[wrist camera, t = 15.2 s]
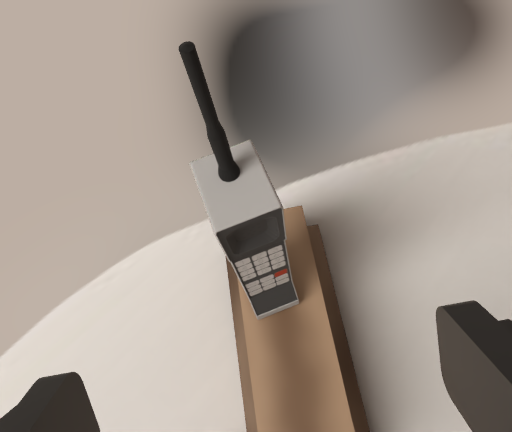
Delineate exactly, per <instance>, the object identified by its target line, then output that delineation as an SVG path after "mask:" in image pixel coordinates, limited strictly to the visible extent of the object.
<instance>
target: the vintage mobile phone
mask: <svg viewBox="0 0 512 432" xmlns="http://www.w3.org/2000/svg"><path fill="white" fill-rule="evenodd" d="M179 52H180V54H181V57H182V60H183V62H184V65H185V68H186V71H187V74H188V76H189V79H190V82H191V85H192V87H193V90H194V93H195V96H196V99H197V101H198V104H199V107H200V109H201V112H202V115H203V118H204V120H205V123H206V128H207V135H208V139H209V142H210V144H211V147H212V150H213V154H211V155H208V156H205V157H203V158H200V159H197V160H195V161H192V162H190V167H191V170H192V172H193V175H194V178H195V181H196V184H197V187H198V189H199V192H200V195H201V198H202V201H203V204H204V206H205V209H206V212H207V215H208V218H209V221H210V223H211V226H212V229H213V232H214V235H215V237H216V238H217V240H218V242H219V244H220V246H221V248H222V249H223V251H224V253H225V255H226V257H227V259H228V261H229V262H230V263H231V265H232V267H233V269H234V271H235V273H236V275H237V277H238V279H239V281H240V283H241V285H242V287H243V289H244V291H245V293H246V295H247V297H248V299H249V301H250V303H251V306H252V308H253V310H254V313H255V315H256V317H257V319H258V320H260V319H262V318H265V317H267V316H270V315H272V314H275V313H277V312H279V311H282V310H284V309H287V308H289V307H292V306H294V305H297V304H299V299H298V296H297V293H296V290H295V287H294V284H293V280H292V275H291V269H290V264H289V259H288V253H287V248H286V242H285V240H287V237H286V228H285V220H284V211H283V206H282V204H281V202H280V200H279V198H278V196H277V194H276V191H275V189H274V187H273V185H272V183H271V181H270V179H269V177H268V174H267V172H266V170H265V168H264V166H263V164H262V162H261V159H260V158H259V155H258V153H257V151H256V149H255V147H254V145H253V142H252V140H247V141H245V142H242V143H240V144H237V145H234V146H232V147H229V144H228V140H227V137H226V134H225V131H224V129H223V127H222V126H221V124H220V122H219V121H218V117H217V114H216V111H215V108H214V105H213V101H212V98H211V95H210V92H209V89H208V86H207V83H206V79H205V77H204V73H203V70H202V67H201V64H200V61H199V58H198V55H197V51H196V48H195V45H194V44H193V43H192V42H184V43H182V44H181V45H180V46H179Z"/></svg>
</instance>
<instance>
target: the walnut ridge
mask: <svg viewBox="0 0 512 432" xmlns="http://www.w3.org/2000/svg"><path fill="white" fill-rule="evenodd" d="M283 211H284V220H285V228H286V237H287V240H285V242H286V248H287V253H288V259H289V264H290V269H291V275H292V280H293V284H294V287H295V290H296V293H297V296H298V299H299V304H297V305H294V306H292V307H289V308H287V309H284V310H282V311H279V312H277V313H275V314H272V315H270V316H267V317H265V318H262V319H260V320H258V319H257V317H256V315H255V313H254V310H253V308H252V306H251V303H250V301H249V299H248V297H247V295H246V293H245V291H244V289H243V287H242V285H241V283H240V281H239V279H238V277H237V275H236V273H235V271H234V269H233V267H232V265H231V263H230V262H229V261H228V259H227V257H226V262H227V271H228V279H229V287H230V296H231V304H232V312H233V321H234V329H235V337H236V346H237V354H238V362H239V371H240V379H241V387H242V396H243V404H244V412H245V421H246V429H247V432H370V430H369V426H368V422H367V418H366V414H365V410H364V406H363V402H362V398H361V394H360V390H359V386H358V382H357V378H356V374H355V370H354V366H353V362H352V358H351V354H350V350H349V346H348V342H347V338H346V334H345V330H344V326H343V322H342V318H341V314H340V310H339V306H338V302H337V298H336V294H335V290H334V286H333V282H332V278H331V274H330V270H329V266H328V262H327V258H326V254H325V250H324V246H323V242H322V238H321V234H320V230H319V226H318V225H312V226H307V225H306V221H305V217H304V212H303V208H302V206H297V207H292V208H287V209H283Z"/></svg>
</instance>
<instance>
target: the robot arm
mask: <svg viewBox="0 0 512 432" xmlns="http://www.w3.org/2000/svg"><path fill="white" fill-rule="evenodd" d="M436 323H437V333H438V343H439V353H440V363H441V371H442V376H443V380H444V383H445V386H446V389H447V391H448V394H449V396H450V398H451V399H452V401H453V403H454V404H455V406H456V407H457V409H458V410H459V412H460V413H461V415H462V416H463V418H464V419H465V421H466V422H467V424H468V426H469V427H470V429H471V430H472V432H512V321H511V320H509V319H506V320H501V321H498V320H497V319H495V318H494V317H493V316H492V315H491V314H490V313H489V312H488V311H487V310H486V309H485V308H483V307H482V306H481V305H480V304H479V303H478V302H476V301H468V302H462V303H457V304H451V305H445V306H440V307H438V308H437V310H436ZM0 432H100V428H99V425H98V422H97V420H96V417H95V414H94V411H93V409H92V406H91V403H90V400H89V398H88V395H87V392H86V389H85V387H84V384H83V381H82V379H81V377H80V376H79V374H77V373H76V372H70V373H64V374H59V375H53V376H48V377H42V378H39V379H38V380H37V381H36V382H35V383H34V384H33V386H32V387H31V388H30V389H29V391H28V392H27V393H26V395H25V396H24V397H23V398H22V400H21V401H20V402H19V404H18V405H17V406H15V407H14V408H13V409H12V410H10V411H9V412H8V413H7V414H6V415H4V416H3V417H2V418H1V419H0Z"/></svg>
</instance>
